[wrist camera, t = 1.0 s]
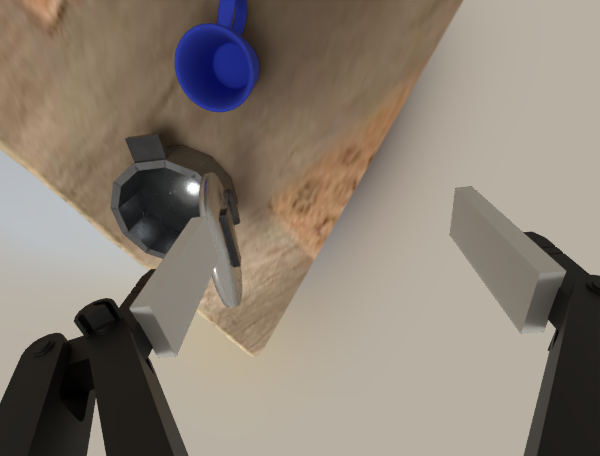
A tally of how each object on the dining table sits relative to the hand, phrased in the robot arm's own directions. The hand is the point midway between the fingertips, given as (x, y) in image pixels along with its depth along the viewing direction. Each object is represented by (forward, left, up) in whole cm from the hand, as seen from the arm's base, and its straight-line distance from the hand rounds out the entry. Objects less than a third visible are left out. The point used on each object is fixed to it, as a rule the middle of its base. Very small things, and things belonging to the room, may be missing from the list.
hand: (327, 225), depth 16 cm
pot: (+10, -22, -31) cm, 40 cm away
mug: (-9, -9, -32) cm, 34 cm away
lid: (+10, -13, -16) cm, 23 cm away
